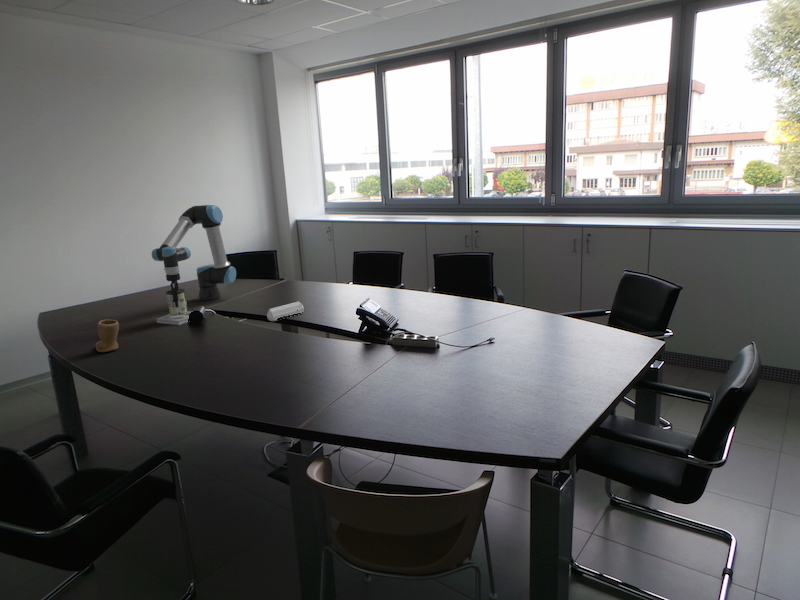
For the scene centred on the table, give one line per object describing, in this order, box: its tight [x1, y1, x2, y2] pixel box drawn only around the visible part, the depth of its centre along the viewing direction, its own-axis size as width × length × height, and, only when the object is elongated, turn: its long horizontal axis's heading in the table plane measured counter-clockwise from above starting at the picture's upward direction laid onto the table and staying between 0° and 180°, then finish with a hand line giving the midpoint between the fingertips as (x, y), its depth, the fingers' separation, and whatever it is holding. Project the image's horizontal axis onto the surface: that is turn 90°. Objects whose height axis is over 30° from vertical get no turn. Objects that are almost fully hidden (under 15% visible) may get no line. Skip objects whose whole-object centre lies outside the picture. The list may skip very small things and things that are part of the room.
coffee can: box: [165, 288, 189, 316], centre depth 311 cm, size 10×10×14 cm
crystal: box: [266, 301, 304, 322], centre depth 306 cm, size 7×7×24 cm
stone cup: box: [95, 319, 120, 353], centre depth 264 cm, size 15×12×15 cm
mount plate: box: [156, 310, 192, 326], centre depth 314 cm, size 18×18×2 cm
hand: (178, 310), depth 312 cm, fingers closed on coffee can, 10 cm apart
